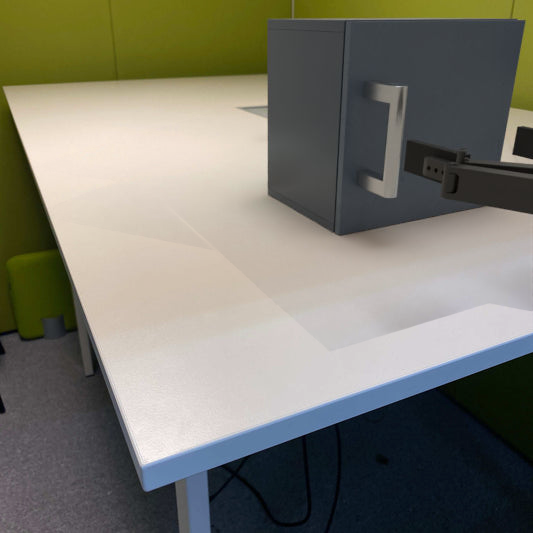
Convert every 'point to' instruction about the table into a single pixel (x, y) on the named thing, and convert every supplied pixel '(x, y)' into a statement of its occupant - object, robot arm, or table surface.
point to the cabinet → (309, 111)
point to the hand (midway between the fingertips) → (465, 147)
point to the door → (418, 111)
